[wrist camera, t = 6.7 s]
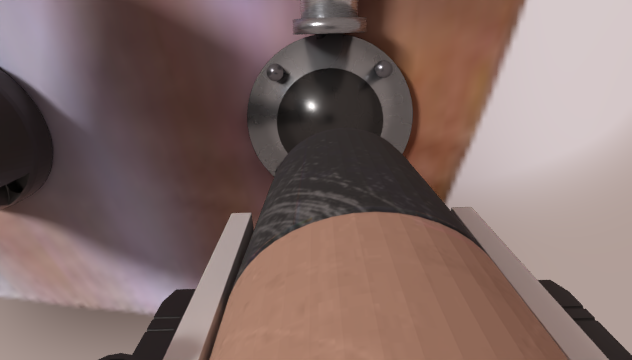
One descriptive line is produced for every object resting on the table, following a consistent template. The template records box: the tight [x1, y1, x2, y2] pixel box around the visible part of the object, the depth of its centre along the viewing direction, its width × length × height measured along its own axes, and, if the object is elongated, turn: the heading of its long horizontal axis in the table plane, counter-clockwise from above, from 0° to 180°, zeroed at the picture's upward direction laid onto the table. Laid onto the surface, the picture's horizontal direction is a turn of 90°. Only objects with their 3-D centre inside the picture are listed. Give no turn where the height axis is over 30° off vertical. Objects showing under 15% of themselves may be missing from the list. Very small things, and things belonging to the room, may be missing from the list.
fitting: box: [247, 0, 413, 177], centre depth 28 cm, size 15×22×6 cm
